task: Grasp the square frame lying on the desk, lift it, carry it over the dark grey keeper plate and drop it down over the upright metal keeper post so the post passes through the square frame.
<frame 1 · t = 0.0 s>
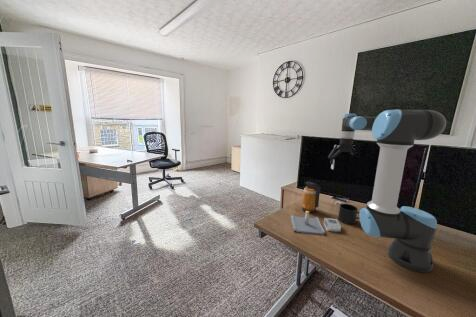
hand: (343, 169, 129), 28 cm above the table, fingers open, 13 cm apart
mug: (349, 221, 117), on the table
square frame: (331, 227, 110), on the table
canister: (309, 210, 130), on the table
keeper plate: (306, 225, 112), on the table
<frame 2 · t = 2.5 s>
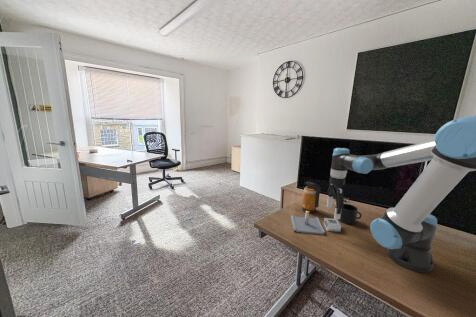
hand: (332, 212, 108), 9 cm above the table, fingers open, 13 cm apart
nothing on the table moved.
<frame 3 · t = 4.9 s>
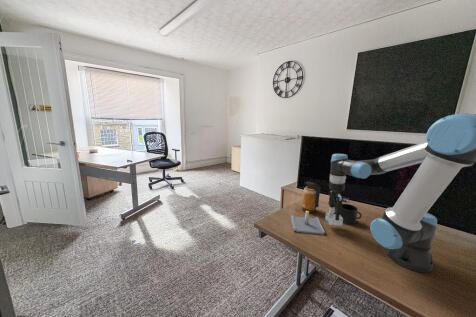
hand: (333, 221, 108), 4 cm above the table, fingers closed on square frame, 7 cm apart
square frame: (333, 221, 108), point 4 cm above the table, touching gripper
everything else where it was.
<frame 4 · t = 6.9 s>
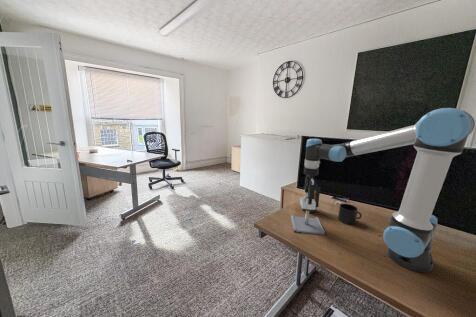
hand: (307, 205, 109), 12 cm above the table, fingers closed on square frame, 7 cm apart
square frame: (307, 206, 110), point 12 cm above the table, touching gripper
everything else where it was.
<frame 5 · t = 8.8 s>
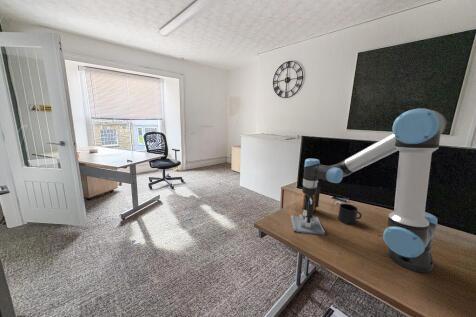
hand: (306, 223, 111), 1 cm above the table, fingers closed on square frame, 7 cm apart
square frame: (306, 223, 112), point 1 cm above the table, touching gripper, keeper plate
everything else where it was.
when the fingers open (1 cm above the table, at t = 9.1 s): square frame stays where it is, resting on keeper plate.
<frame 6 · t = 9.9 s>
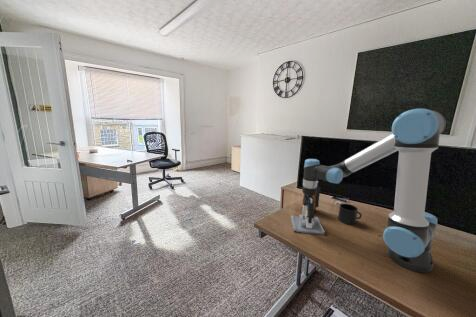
hand: (306, 221, 111), 3 cm above the table, fingers open, 13 cm apart
square frame: (306, 223, 112), point 1 cm above the table, touching keeper plate
everything else where it was.
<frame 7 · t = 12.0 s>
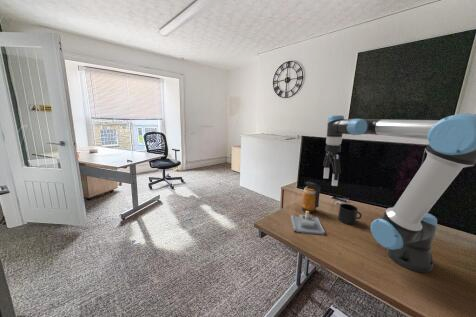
hand: (329, 181, 108), 26 cm above the table, fingers open, 13 cm apart
nothing on the table moved.
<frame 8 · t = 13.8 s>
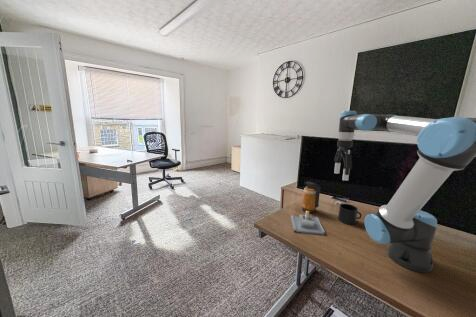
hand: (340, 176, 110), 29 cm above the table, fingers open, 13 cm apart
nothing on the table moved.
at the end: square frame 0.1 cm from the keeper plate (horizontally); square frame point 1.0 cm above the table; the gripper is holding nothing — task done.
